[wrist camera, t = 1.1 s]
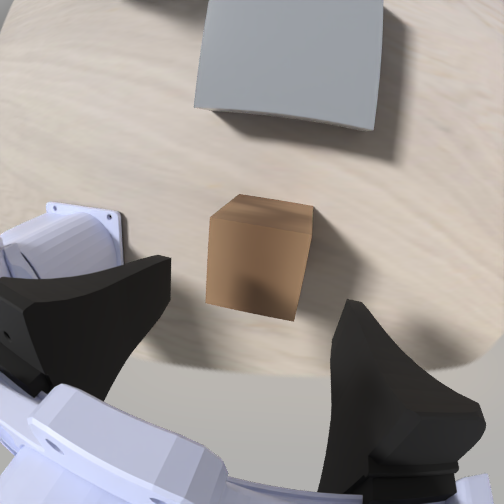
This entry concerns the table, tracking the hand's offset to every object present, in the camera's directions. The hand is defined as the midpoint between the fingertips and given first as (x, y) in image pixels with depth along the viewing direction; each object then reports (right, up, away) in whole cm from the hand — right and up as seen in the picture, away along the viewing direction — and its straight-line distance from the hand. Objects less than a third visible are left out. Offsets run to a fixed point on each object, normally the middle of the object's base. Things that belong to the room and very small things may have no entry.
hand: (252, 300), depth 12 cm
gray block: (+3, +15, +4) cm, 16 cm away
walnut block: (+1, +3, +9) cm, 10 cm away
